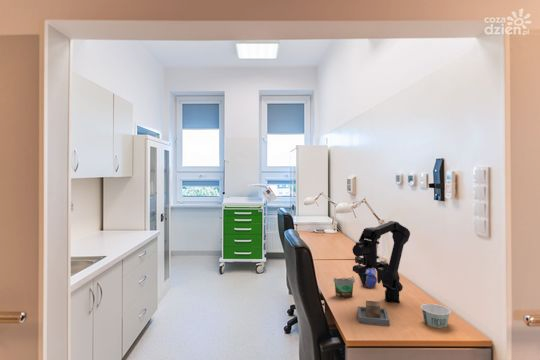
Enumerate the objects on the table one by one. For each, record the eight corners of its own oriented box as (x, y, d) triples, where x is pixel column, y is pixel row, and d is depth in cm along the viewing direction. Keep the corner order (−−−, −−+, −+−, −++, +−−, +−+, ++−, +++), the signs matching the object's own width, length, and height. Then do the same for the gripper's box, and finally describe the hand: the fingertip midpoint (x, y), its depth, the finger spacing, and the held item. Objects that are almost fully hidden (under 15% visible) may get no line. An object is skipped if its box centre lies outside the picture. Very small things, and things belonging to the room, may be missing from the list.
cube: (379, 314, 153) (379, 301, 153) (380, 319, 147) (380, 306, 147) (365, 313, 154) (365, 300, 154) (366, 318, 148) (366, 305, 148)
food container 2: (441, 317, 152) (441, 303, 152) (456, 329, 140) (456, 314, 140) (415, 317, 151) (415, 303, 151) (429, 329, 139) (429, 314, 139)
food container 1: (338, 299, 173) (338, 281, 173) (333, 295, 179) (333, 277, 179) (359, 297, 176) (359, 279, 176) (353, 293, 182) (353, 275, 182)
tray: (385, 313, 155) (385, 308, 155) (389, 325, 143) (389, 320, 143) (357, 311, 158) (357, 306, 158) (358, 322, 146) (358, 317, 146)
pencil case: (361, 277, 213) (361, 262, 213) (375, 278, 211) (375, 263, 211) (361, 288, 192) (361, 271, 192) (377, 289, 190) (377, 273, 190)
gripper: (375, 248, 173) (375, 277, 174) (345, 252, 166) (346, 282, 167) (389, 252, 163) (390, 283, 163) (359, 257, 156) (359, 289, 156)
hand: (371, 284), depth 163 cm, fingers open, 9 cm apart
